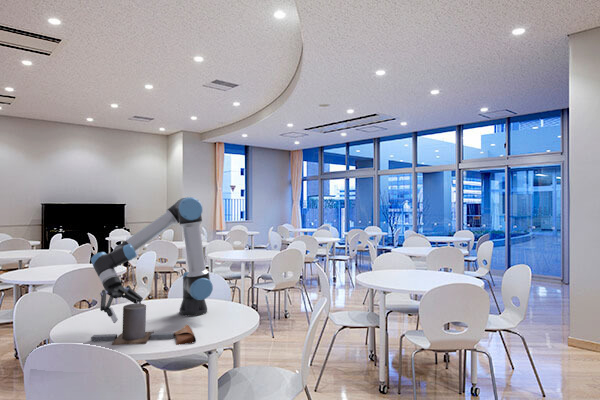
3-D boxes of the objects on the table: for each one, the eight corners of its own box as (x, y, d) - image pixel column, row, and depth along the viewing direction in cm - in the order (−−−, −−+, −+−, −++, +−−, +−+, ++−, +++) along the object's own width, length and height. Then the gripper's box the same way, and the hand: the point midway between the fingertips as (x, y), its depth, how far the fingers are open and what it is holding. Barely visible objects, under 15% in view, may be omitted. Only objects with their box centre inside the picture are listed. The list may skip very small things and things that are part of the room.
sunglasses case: (171, 333, 189) (179, 320, 191) (184, 339, 191) (192, 326, 193) (175, 345, 173) (184, 330, 174) (190, 351, 175) (198, 337, 176)
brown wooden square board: (153, 333, 188) (153, 331, 188) (145, 343, 174) (145, 341, 174) (122, 334, 187) (122, 332, 187) (111, 344, 173) (111, 342, 173)
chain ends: (174, 336, 184) (174, 332, 184) (173, 338, 181) (173, 334, 181) (93, 339, 180) (93, 334, 180) (91, 341, 177) (91, 337, 177)
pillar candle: (117, 338, 178) (118, 304, 178) (133, 332, 187) (133, 299, 187) (135, 341, 175) (135, 306, 175) (150, 334, 184) (151, 301, 184)
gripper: (130, 282, 202) (149, 316, 194) (81, 290, 181) (99, 329, 173) (137, 272, 199) (156, 307, 191) (88, 279, 178) (107, 319, 170)
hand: (129, 317), depth 182 cm, fingers open, 13 cm apart
